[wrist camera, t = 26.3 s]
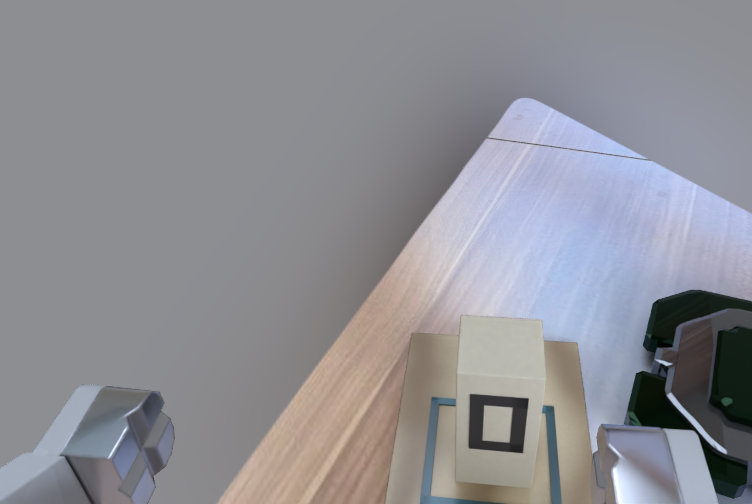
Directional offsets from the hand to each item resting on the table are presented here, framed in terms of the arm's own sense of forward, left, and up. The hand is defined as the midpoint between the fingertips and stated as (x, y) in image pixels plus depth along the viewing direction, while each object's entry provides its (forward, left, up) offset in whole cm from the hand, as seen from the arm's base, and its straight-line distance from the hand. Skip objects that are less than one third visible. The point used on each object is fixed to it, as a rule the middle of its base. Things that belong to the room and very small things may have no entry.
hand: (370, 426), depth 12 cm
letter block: (+3, +20, -27) cm, 33 cm away
